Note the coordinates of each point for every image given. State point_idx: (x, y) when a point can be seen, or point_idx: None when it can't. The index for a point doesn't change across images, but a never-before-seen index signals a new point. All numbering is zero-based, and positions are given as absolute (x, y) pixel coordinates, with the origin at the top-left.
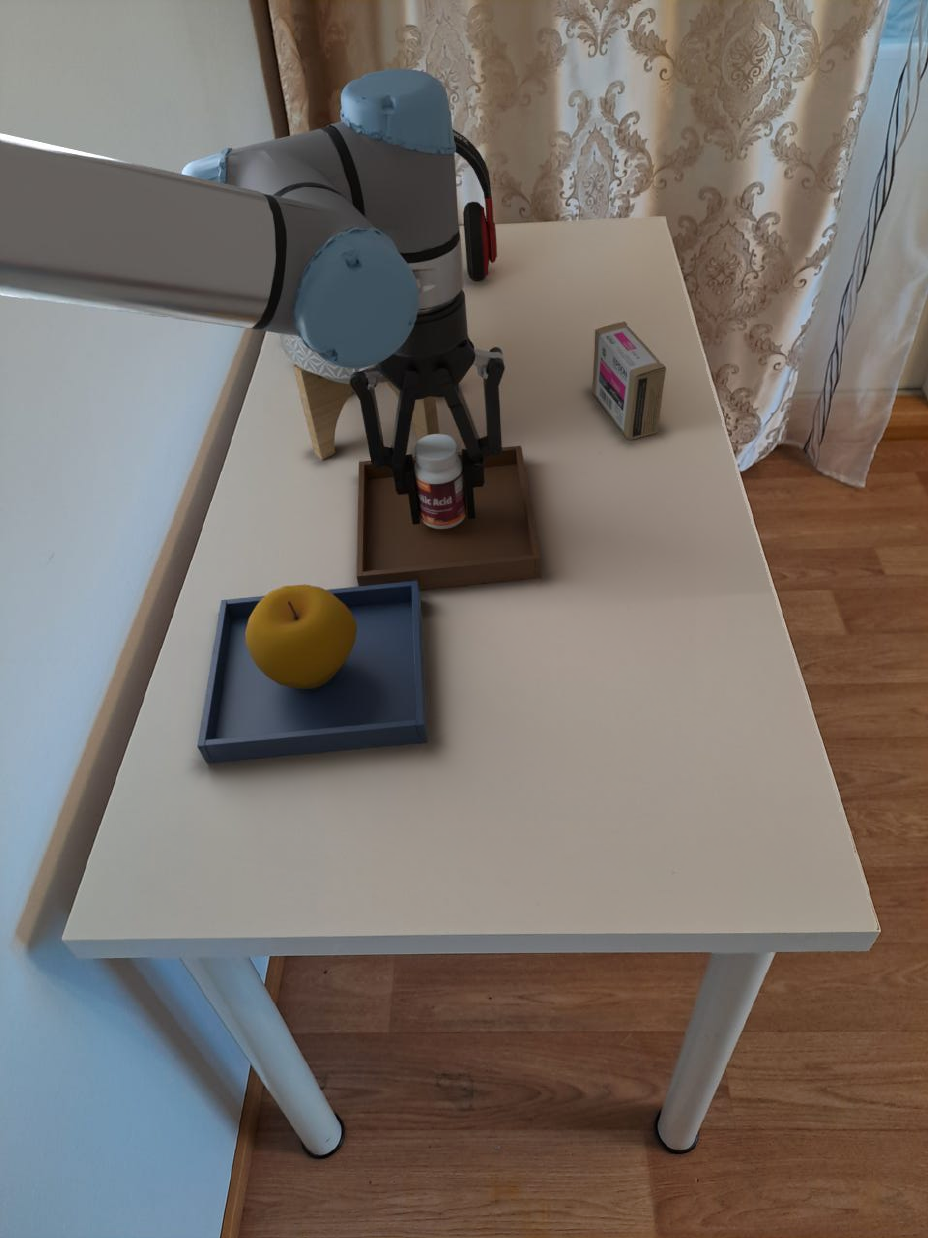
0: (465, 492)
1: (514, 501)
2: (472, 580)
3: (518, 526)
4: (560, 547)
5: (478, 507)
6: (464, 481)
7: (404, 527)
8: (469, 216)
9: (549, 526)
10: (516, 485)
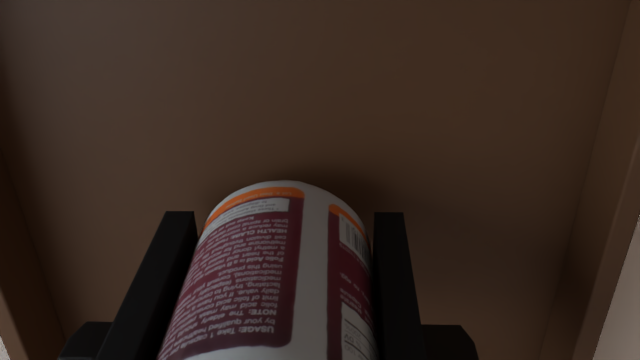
0: (376, 285)
1: (555, 165)
2: None
3: (531, 273)
4: (625, 330)
5: (415, 176)
6: (379, 321)
7: (154, 230)
8: None
9: (629, 255)
10: (594, 76)
